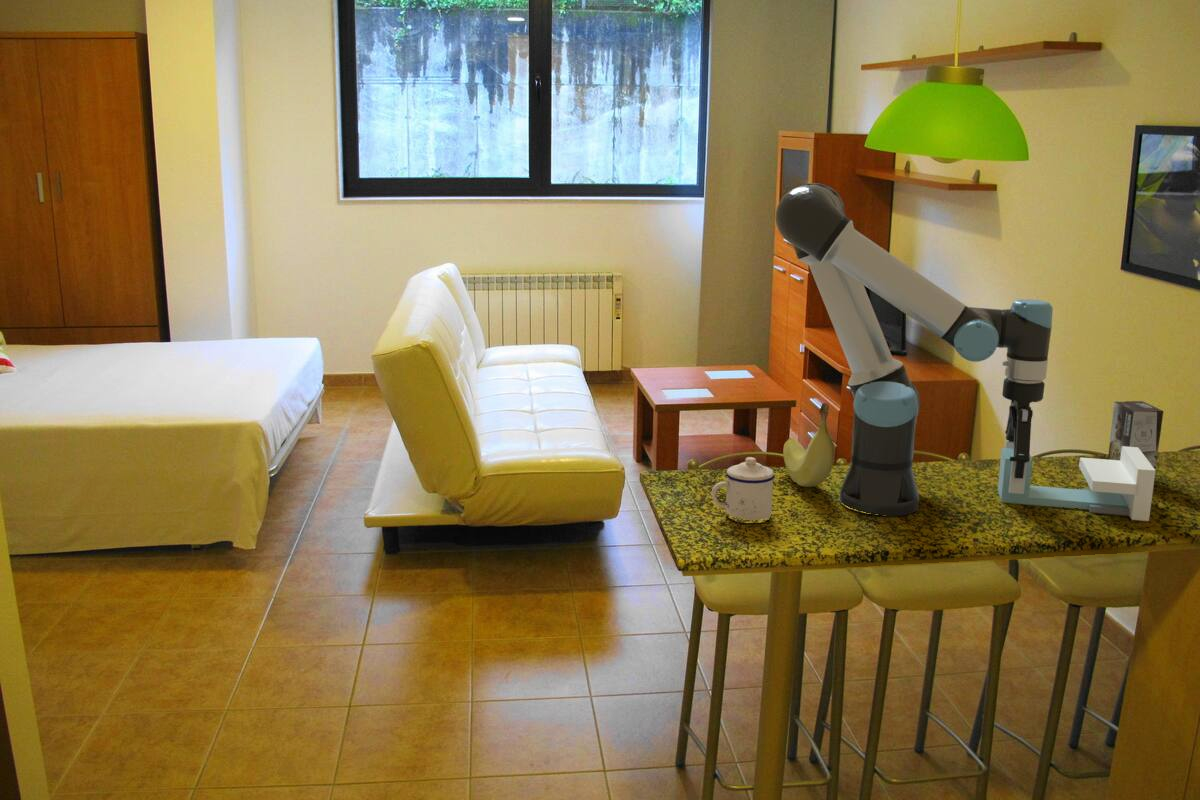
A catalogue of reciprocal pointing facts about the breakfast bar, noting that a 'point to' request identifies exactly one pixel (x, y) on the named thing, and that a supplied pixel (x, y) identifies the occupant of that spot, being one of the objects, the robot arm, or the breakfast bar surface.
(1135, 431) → the coffee box
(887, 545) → the breakfast bar surface
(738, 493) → the teacup with lid
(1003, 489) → the light blue l-bracket
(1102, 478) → the shelf
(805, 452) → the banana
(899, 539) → the breakfast bar surface
